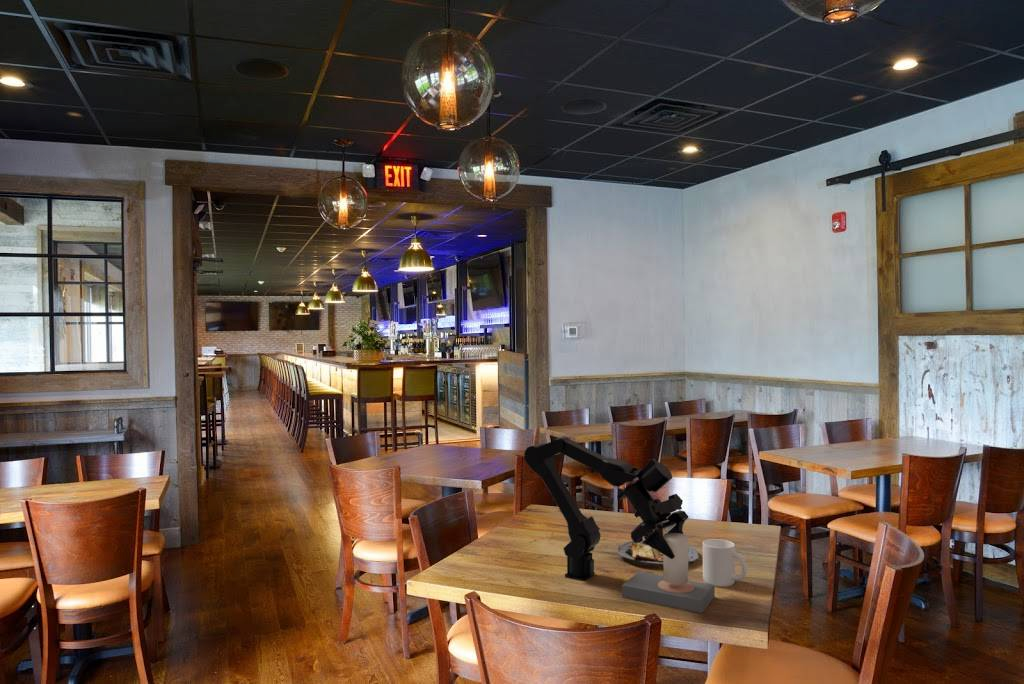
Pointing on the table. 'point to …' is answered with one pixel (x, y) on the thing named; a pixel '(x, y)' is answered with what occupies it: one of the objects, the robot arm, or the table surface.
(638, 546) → the food plate
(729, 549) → the mug
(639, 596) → the plinth
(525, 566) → the table surface
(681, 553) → the canister
